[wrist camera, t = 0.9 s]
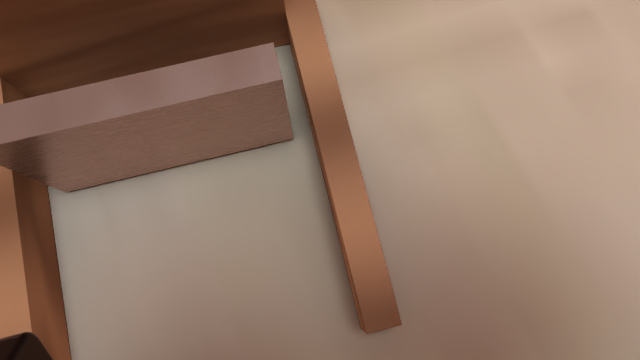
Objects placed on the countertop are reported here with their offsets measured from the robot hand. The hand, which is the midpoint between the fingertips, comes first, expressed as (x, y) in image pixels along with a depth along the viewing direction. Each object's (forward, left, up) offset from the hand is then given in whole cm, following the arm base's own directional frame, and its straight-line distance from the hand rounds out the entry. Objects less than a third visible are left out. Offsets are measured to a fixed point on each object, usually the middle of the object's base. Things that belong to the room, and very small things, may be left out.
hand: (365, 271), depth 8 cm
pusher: (+6, +6, -13) cm, 16 cm away
